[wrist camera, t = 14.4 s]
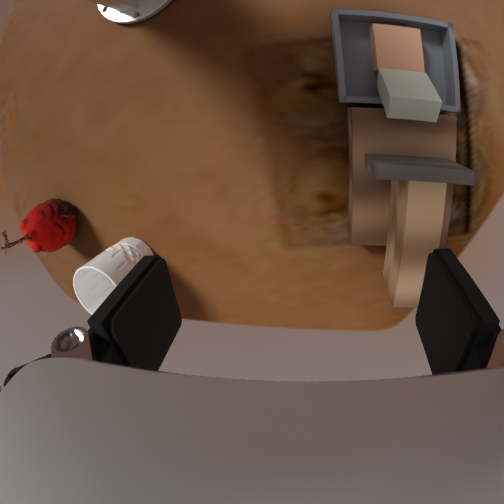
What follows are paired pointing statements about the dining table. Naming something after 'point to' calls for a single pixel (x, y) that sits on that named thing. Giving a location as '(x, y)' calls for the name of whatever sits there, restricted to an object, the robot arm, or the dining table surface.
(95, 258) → the white cup
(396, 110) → the tile sage
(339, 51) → the tray
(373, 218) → the wooden block
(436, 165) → the scraper
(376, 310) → the dining table surface
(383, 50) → the tile terracotta
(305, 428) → the robot arm
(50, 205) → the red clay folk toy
